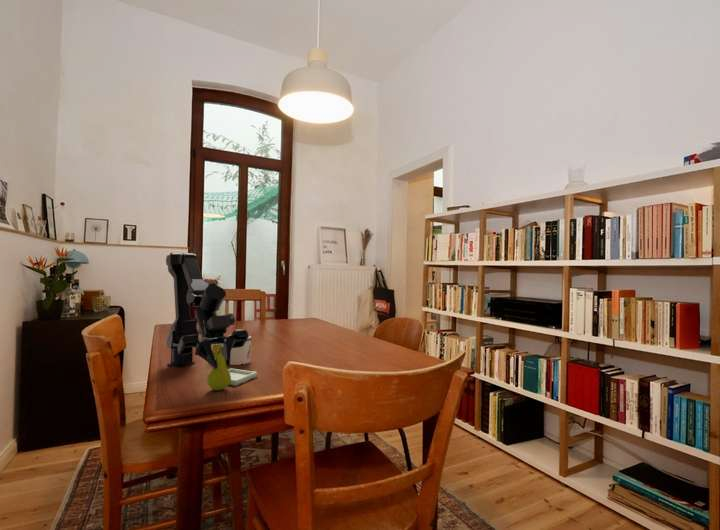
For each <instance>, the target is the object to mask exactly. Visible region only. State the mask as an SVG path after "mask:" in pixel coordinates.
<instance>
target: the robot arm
mask: <svg viewBox="0 0 720 530" xmlns="http://www.w3.org/2000/svg"><path fill="white" fill-rule="evenodd" d="M197 260H198V258H197V254H196V253H191V252H170V254H168V255H166V256H165V265H166V266H167V270H168V271H167V272H168V273H169V274H170V275H171V277H172V278H173V289H174V308H175V312H174V314H175V319H174V321H173V323H172V325H171V326H170V331H169V334H168V336H167V339H166V347H167V348H168V349H170V362H168V363H166V365H167V366H169V365H171V366H170V367H176V368H184V367H186V366H190V365H194V364H196V361H193V358H194V357H193V354H194V356H198V357H200V358H201V359H203V360H205V362H207V363H208V364H209V365H210V366H211V367H212V369H213V368H214V369H216V368H217V363H216V358H215V357H214V354H213V352H212V349H213V348H212V346H213V345H217V344H222V347H223V348H222V350H221V353H222V355H223V357H224V358H225V361H226V364H227V367H230V366H231V365H230V355H231V350H232V348H239V347H242V346H244V344H245V342H246V340H247V339H248V337H249V332H248V331H247V329H236V330H233V331H232V333H231V334H230V335H231V336H230V335H225V334H226V333H227V328H230V326H233V325H234V324H235V323H236V318H235V316H234V313H232V312H231V313H226V314H222V315H218V314H217V312H218V311H219V310H220V308H221V306H222V304H223V302H224V300H225V298H226V296H227V292H226V290H225V289H224V288H222V287H221V286H219V285H217V283H216V282H209V283H208V282H206V281H205V280H204V277H203V274H202V271H201V270H200V267H199V264H198V261H197ZM195 307H196V308H195ZM191 308H195V310H194V319H193V318H192V316H191ZM197 325H198V329H197ZM199 335H201V336H200V337H199ZM193 348H194V349H195V351H194V352H193Z"/></svg>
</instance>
